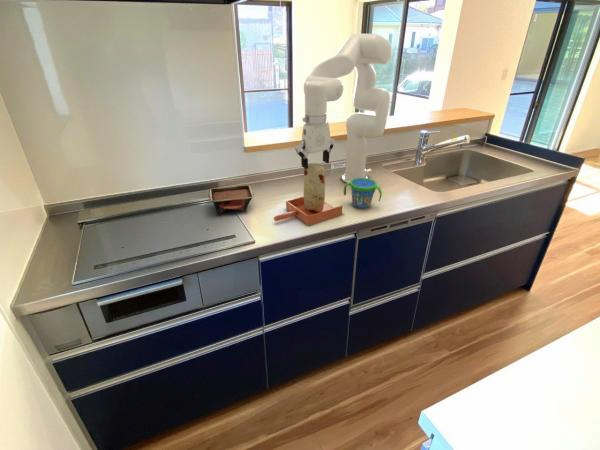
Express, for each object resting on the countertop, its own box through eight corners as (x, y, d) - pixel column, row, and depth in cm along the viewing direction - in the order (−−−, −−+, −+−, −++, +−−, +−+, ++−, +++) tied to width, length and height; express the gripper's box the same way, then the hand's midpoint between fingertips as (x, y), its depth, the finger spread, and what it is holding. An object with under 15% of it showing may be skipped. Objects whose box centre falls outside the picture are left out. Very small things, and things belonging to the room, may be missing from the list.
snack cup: (383, 204, 145) (386, 181, 140) (375, 214, 137) (377, 191, 132) (348, 196, 152) (350, 174, 147) (339, 206, 144) (340, 183, 139)
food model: (299, 210, 140) (299, 163, 130) (309, 204, 145) (310, 158, 135) (319, 217, 135) (320, 169, 125) (328, 211, 139) (330, 164, 129)
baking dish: (252, 218, 139) (254, 195, 135) (207, 216, 135) (207, 192, 131) (250, 205, 152) (252, 183, 148) (209, 202, 148) (209, 180, 144)
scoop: (318, 199, 149) (318, 191, 147) (342, 214, 138) (342, 205, 136) (264, 216, 137) (263, 207, 135) (285, 233, 125) (284, 224, 123)
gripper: (301, 125, 115) (301, 173, 124) (341, 117, 123) (339, 163, 131) (289, 120, 120) (290, 166, 129) (329, 113, 128) (327, 157, 137)
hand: (315, 164), depth 130 cm, fingers open, 9 cm apart
